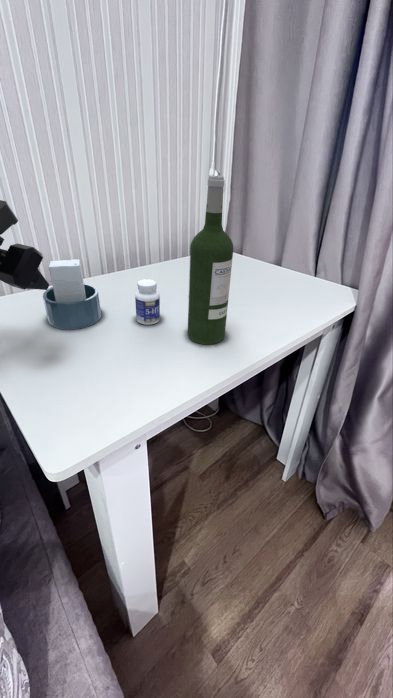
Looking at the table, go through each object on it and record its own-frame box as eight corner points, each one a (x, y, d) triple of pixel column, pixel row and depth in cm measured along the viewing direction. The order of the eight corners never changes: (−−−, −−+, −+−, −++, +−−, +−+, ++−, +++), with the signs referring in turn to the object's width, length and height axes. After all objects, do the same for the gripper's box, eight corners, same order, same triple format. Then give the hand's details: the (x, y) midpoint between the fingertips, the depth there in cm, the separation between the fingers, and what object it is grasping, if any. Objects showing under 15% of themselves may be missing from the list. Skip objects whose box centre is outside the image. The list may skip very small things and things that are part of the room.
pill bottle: (147, 327, 72) (145, 289, 67) (131, 319, 75) (129, 282, 70) (164, 319, 75) (164, 282, 70) (149, 312, 78) (147, 276, 73)
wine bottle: (220, 348, 66) (236, 180, 50) (182, 341, 68) (186, 176, 51) (227, 329, 73) (243, 176, 56) (193, 324, 74) (199, 173, 58)
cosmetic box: (88, 309, 77) (80, 258, 70) (88, 318, 73) (80, 265, 67) (60, 312, 75) (49, 260, 69) (59, 320, 72) (48, 267, 65)
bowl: (68, 335, 68) (63, 308, 65) (38, 318, 73) (32, 293, 70) (111, 316, 76) (108, 292, 72) (80, 302, 81) (77, 279, 78)
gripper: (16, 187, 43) (86, 251, 58) (-69, 175, 50) (13, 235, 65) (-23, 262, 42) (60, 309, 56) (-106, 239, 48) (-13, 286, 63)
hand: (29, 281), depth 60 cm, fingers open, 9 cm apart
